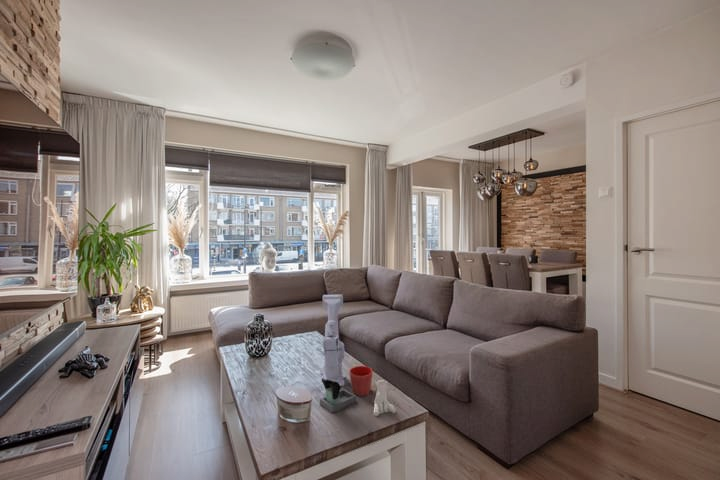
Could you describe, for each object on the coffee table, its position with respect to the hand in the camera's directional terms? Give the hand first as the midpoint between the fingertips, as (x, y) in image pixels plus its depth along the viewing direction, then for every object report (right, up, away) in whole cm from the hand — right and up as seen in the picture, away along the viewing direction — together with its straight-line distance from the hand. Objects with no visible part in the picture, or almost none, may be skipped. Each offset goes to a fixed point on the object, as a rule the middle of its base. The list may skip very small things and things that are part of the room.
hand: (332, 396), depth 134 cm
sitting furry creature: (+21, -4, -4) cm, 21 cm away
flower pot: (+12, -4, +12) cm, 18 cm away
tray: (+2, -4, +2) cm, 5 cm away
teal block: (0, -2, 0) cm, 2 cm away
